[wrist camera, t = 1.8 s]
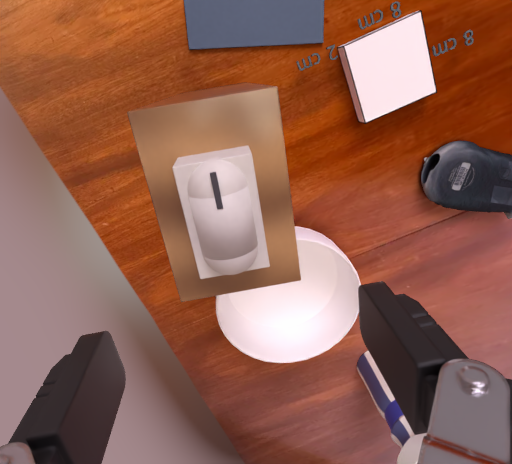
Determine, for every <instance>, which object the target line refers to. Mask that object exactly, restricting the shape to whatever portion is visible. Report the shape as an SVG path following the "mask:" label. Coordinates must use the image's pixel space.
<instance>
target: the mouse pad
mask: <svg viewBox="0 0 512 464" xmlns="http://www.w3.org/2000/svg"><path fill="white" fill-rule="evenodd" d="M184 7H185V16H186V25H187V34H188V43H189V50H193V49H214V48H234V47H255V46H275V45H295V44H316V43H323V27H324V0H184Z"/></svg>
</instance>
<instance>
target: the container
mask: <svg viewBox="0 0 512 464" xmlns="http://www.w3.org/2000/svg"><path fill="white" fill-rule="evenodd" d="M394 4H397V9H393V5H394ZM399 7H400V3H399V2H394V3H392V4H391V6H390V10H391V11H394V12H393V14H392V16H393V18H397V17H399V16H400V15H401V11H400V10H399ZM396 11H397V12H398V16H395V12H396ZM376 12H379V13H380V19H379V20H378V21H376V23H377V22H380V21H381V20H382V18H383V13H382V11H381V10H377V11H375V12H373V13H374V14H375V13H376ZM370 18H371V24H368V22H367V18H366V16H364V21H365V26H364V27H362V25H361V21H360V19H358V23H359V27H360V29H365V28H366V26H367V27H369V26H371V25H373V24H375V23H374V19H373V15H372V13H371V14H370ZM468 32H469V33H470V36H469V37H466V34H467V33H468ZM472 35H473V31H471V30H469V31H466V32H465V33H464V35H463V38H464V39H466V40H465V45H467V46H468V45H471V44H472V43H473V38H471V37H472ZM469 39H470V40H471V42H470V43H469V44H468V40H469ZM450 40H452V41H453V47H452V48H449V50H452V49H453V48H455V46H456V40H455V39H454V38H451V39H448V40H447V42H449V41H450ZM443 43H444V51H442V50H441V45H440V44H438V50H439V52H438V54H436V51H435V46H433V47H432V51H433V55H434V56H438V55H439V54H440V53H441V54H442V53H445V52H447V51H448V49H447V43H446V41H444V42H443ZM334 46H335V44H334V45H332V46H330V47H327V48H326V49H329V48H331V47H332V48H331V51H330V54H329V58H330V59H331V60H335V59H336V58H337V57H338V56H336V57H335V58H332V56H331V54H332V51H333V48H334ZM337 49H338V52H339V56H340V59H341V63H342V66H343V69H344V73H345V76H346V80H347V83H348V87H349V90H350V94H351V97H352V101H353V104H354V107H355V111H356V114H357V118H358V121H359V122H361V123H364V124H366V123H368V122H371V121H373V120H375V119H377V118H380V117H382V116H384V115H387V114H389V113H391V112H393V111H396V110H398V109H400V108H403V107H405V106H407V105H409V104H412V103H414V102H416V101H419V100H421V99H423V98H425V97H428V96H430V95H432V94H434V93H437V89H436V84H435V78H434V73H433V68H432V63H431V58H430V53H429V48H428V42H427V37H426V32H425V27H424V22H423V17H422V11H421V10H420V11H417V12H414V13H411V14H409V15H407V16H405V17H403V18H400V19H398V20H396V21H394V22H392V23H390V24H387V25H385V26H383V27H381V28H379V29H376V30H374V31H372V32H370V33H368V34H366V35H363V36H361V37H359V38H357V39H355V40H352V41H350V42H348V43H346V44H344V45H342V46H339V47H337ZM313 55H316V56H317V57H318V61H317V62H316V63H314V65H315V64H318V63H319V61H320V56H319V54H318V53H314V54H312V55H311V56H313ZM308 60H309V66H306V64H305V61H304V59H302V61H303V64H304V68H303V69H301V67H300V65H299V62H298V61H297V65H298V68H299V70H301V71H302V70H304V69H305V68H309V67H310V66H313V65H312V62H311V59H310V56H308Z"/></svg>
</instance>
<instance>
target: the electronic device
mask: <svg viewBox="0 0 512 464" xmlns="http://www.w3.org/2000/svg"><path fill="white" fill-rule="evenodd" d="M424 161H425V163H424V166H423V170H422V176H421V181H422V186H423V190H424V192H425V194H426V196H427V197H428V199H429V200H430V201H433V202H434V203H436V204H439V205H442V206H443V207H446V208H452V209H457V210H466V211H478V212H504V213H505V215H506V216H507V218H508V219H510V218H512V155H510V154H504V153H500V152H496V151H493V150H489V149H485V148H481V147H479V146H477V145H476V144H475V143H472V142H468V141H455V142H451V143H448V144H446V145H444V146H442V147H440V148H439V149H438V150H437V151H435V152H434V153H433V154H432V155H431V156H430V157H429V158H424Z"/></svg>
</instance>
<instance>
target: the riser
mask: <svg viewBox="0 0 512 464" xmlns="http://www.w3.org/2000/svg"><path fill="white" fill-rule="evenodd" d="M127 114H128V117H129V121H130V124H131V128H132V131H133V135H134V138H135V142H136V145H137V149H138V152H139V156H140V160H141V163H142V167H143V170H144V174H145V177H146V181H147V184H148V188H149V191H150V195H151V198H152V202H153V205H154V209H155V212H156V216H157V219H158V223H159V226H160V230H161V233H162V237H163V240H164V244H165V247H166V251H167V254H168V258H169V261H170V265H171V268H172V272H173V275H174V279H175V282H176V286H177V289H178V293H179V296H180V300H181V302H184V301H190V300H195V299H201V298H206V297H212V296H217V295H223V294H228V293H234V292H239V291H245V290H250V289H256V288H261V287H267V286H272V285H278V284H283V283H289V282H294V281H300V280H301V275H300V267H299V258H298V250H297V242H296V234H295V226H294V217H293V209H292V201H291V193H290V185H289V177H288V168H287V160H286V152H285V144H284V136H283V127H282V119H281V111H280V103H279V95H278V87H277V86H270V85H262V84H254V83H247V82H244V83H238V84H232V85H226V86H220V87H214V88H208V89H202V90H197V91H191V92H185V93H180V94H178V95H175V96H172V97H169V98H166V99H163V100H160V101H157V102H154V103H151V104H149V105H146V106H143V107H140V108H137V109H134V110H131V111H128V112H127ZM247 145H248V146H249V148H250V150H251V153H252V157H253V163H254V170H255V176H256V182H257V188H258V195H259V201H260V207H261V213H262V220H263V226H264V232H265V239H266V245H267V251H268V257H269V264H270V267H266V268H260V269H255V270H249V271H244V272H242V273H239V274H235V275H222V276H216V277H211V278H205V279H200V276H199V272H198V268H197V264H196V260H195V256H194V252H193V248H192V244H191V240H190V236H189V232H188V228H187V225H186V221H185V217H184V213H183V209H182V205H181V201H180V197H179V193H178V189H177V185H176V181H175V177H174V173H173V169H172V167H173V165H174V163H175V162H176V160H177V158H178V157H184V156H190V155H195V154H201V153H207V152H213V151H218V150H224V149H230V148H236V147H241V146H247Z"/></svg>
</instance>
